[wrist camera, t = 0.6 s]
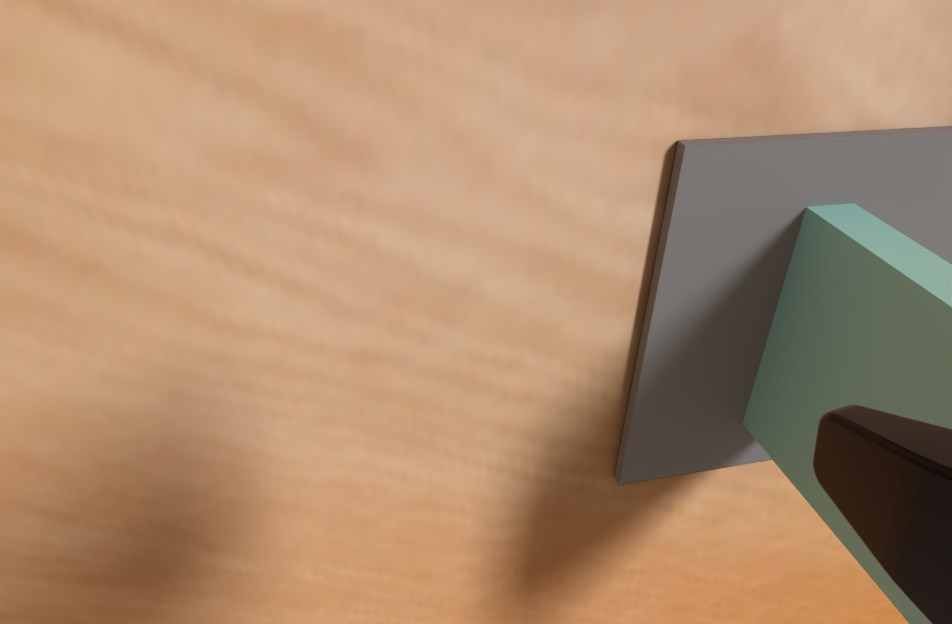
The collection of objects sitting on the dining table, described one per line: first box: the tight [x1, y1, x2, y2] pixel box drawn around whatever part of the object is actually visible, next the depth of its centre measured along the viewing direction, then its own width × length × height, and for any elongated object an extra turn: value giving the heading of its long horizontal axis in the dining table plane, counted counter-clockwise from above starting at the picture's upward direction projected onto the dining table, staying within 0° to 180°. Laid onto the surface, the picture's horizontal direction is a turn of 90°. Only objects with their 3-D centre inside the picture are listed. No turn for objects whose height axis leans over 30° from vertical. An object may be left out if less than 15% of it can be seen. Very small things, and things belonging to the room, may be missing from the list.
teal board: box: [742, 203, 952, 624], centre depth 20 cm, size 2×8×12 cm, turn 177°
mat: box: [614, 126, 952, 485], centre depth 26 cm, size 18×12×1 cm, turn 87°
